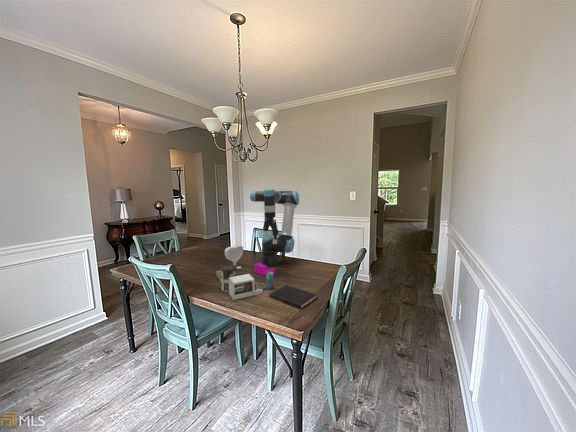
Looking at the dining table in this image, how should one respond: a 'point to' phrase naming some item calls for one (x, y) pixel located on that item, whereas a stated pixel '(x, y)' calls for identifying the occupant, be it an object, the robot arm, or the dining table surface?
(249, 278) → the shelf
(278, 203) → the robot arm
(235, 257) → the heart sculpture
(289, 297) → the hardcover book
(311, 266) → the dining table surface
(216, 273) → the block tray
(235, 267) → the coffee can
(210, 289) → the dining table surface
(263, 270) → the toy block
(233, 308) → the dining table surface
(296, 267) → the dining table surface
